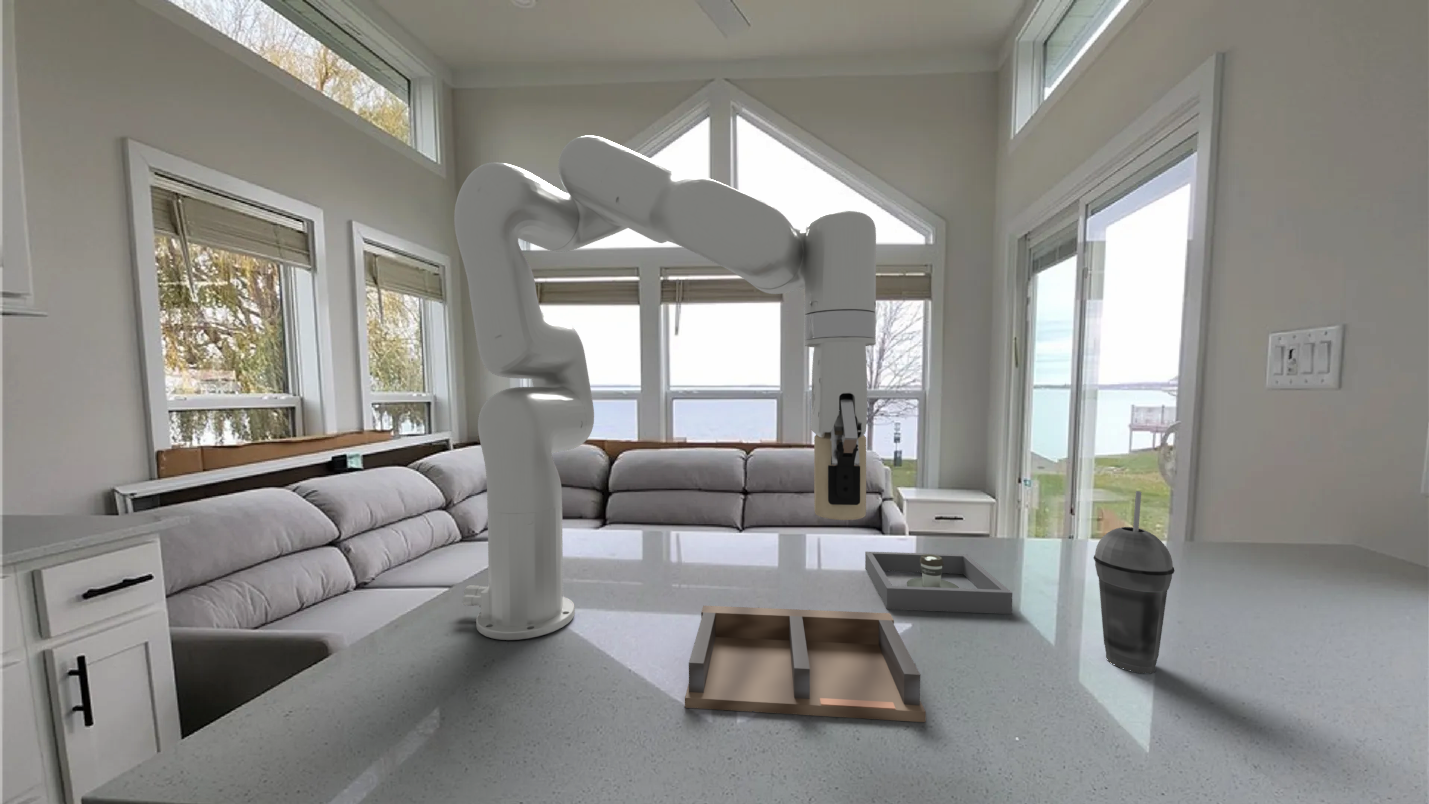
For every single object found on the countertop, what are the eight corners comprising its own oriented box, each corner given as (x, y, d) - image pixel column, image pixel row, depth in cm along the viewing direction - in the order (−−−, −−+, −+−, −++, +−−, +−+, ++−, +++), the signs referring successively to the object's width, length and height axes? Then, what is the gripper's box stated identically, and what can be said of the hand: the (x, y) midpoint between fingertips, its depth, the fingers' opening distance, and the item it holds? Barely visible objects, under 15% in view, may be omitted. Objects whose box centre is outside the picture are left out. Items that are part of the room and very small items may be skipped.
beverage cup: (1154, 653, 63) (1158, 485, 63) (1185, 685, 56) (1190, 498, 56) (1082, 643, 66) (1085, 482, 65) (1104, 673, 59) (1108, 493, 58)
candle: (868, 521, 55) (868, 425, 55) (814, 519, 56) (814, 425, 56) (863, 509, 61) (863, 421, 60) (814, 507, 62) (814, 421, 61)
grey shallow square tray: (886, 609, 76) (886, 588, 76) (865, 568, 93) (865, 551, 93) (1012, 614, 74) (1012, 592, 74) (966, 571, 91) (967, 554, 91)
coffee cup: (977, 583, 85) (978, 552, 85) (967, 609, 75) (968, 574, 75) (900, 569, 92) (900, 540, 92) (881, 592, 82) (881, 560, 82)
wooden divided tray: (684, 707, 53) (684, 667, 53) (703, 636, 68) (703, 605, 67) (925, 722, 50) (926, 680, 50) (889, 645, 65) (890, 613, 65)
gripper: (799, 339, 67) (799, 483, 67) (812, 323, 50) (812, 516, 50) (860, 338, 66) (859, 484, 67) (894, 321, 49) (894, 517, 49)
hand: (839, 496), depth 58 cm, fingers closed on candle, 5 cm apart
